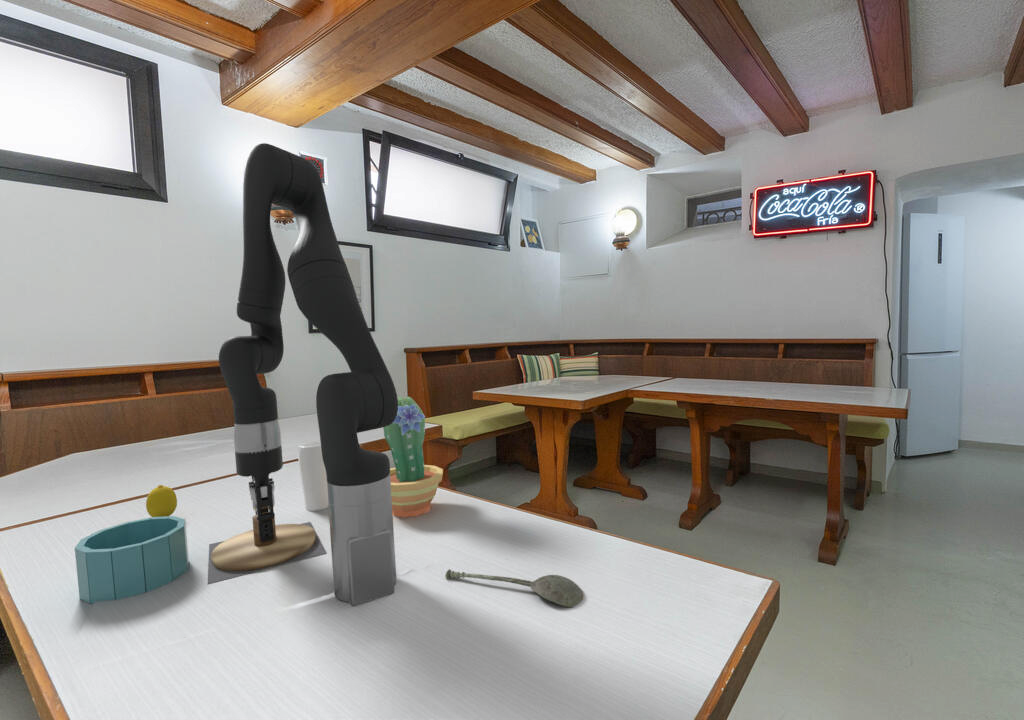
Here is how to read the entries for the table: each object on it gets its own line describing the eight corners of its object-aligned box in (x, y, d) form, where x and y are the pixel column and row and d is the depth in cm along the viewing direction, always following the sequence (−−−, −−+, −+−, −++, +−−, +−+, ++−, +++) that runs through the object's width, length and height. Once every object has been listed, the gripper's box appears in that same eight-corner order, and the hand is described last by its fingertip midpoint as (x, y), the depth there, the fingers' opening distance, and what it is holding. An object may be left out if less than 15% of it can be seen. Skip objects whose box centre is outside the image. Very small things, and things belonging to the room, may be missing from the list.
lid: (323, 552, 87) (321, 518, 86) (211, 582, 78) (208, 544, 77) (308, 522, 101) (306, 493, 101) (212, 544, 92) (209, 512, 92)
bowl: (186, 584, 78) (181, 536, 78) (70, 614, 71) (65, 560, 70) (190, 552, 90) (186, 510, 90) (92, 575, 83) (87, 529, 82)
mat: (327, 556, 86) (326, 553, 86) (207, 587, 77) (207, 584, 77) (310, 524, 102) (310, 521, 102) (209, 546, 92) (209, 544, 92)
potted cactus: (362, 522, 101) (354, 403, 100) (390, 497, 116) (384, 393, 115) (434, 523, 99) (427, 401, 98) (453, 497, 114) (448, 392, 113)
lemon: (184, 515, 110) (181, 481, 110) (164, 525, 105) (161, 489, 104) (161, 516, 111) (158, 481, 110) (141, 525, 105) (137, 489, 105)
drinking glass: (327, 513, 108) (322, 446, 107) (296, 514, 108) (291, 447, 107) (338, 502, 114) (334, 439, 113) (310, 503, 114) (305, 440, 114)
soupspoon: (578, 620, 66) (589, 597, 72) (578, 596, 66) (589, 575, 72) (437, 589, 74) (457, 570, 80) (437, 567, 74) (457, 550, 80)
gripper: (285, 449, 84) (292, 541, 85) (277, 436, 96) (282, 516, 97) (235, 457, 80) (243, 552, 81) (233, 442, 92) (240, 525, 93)
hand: (264, 533), depth 89 cm, fingers open, 8 cm apart
